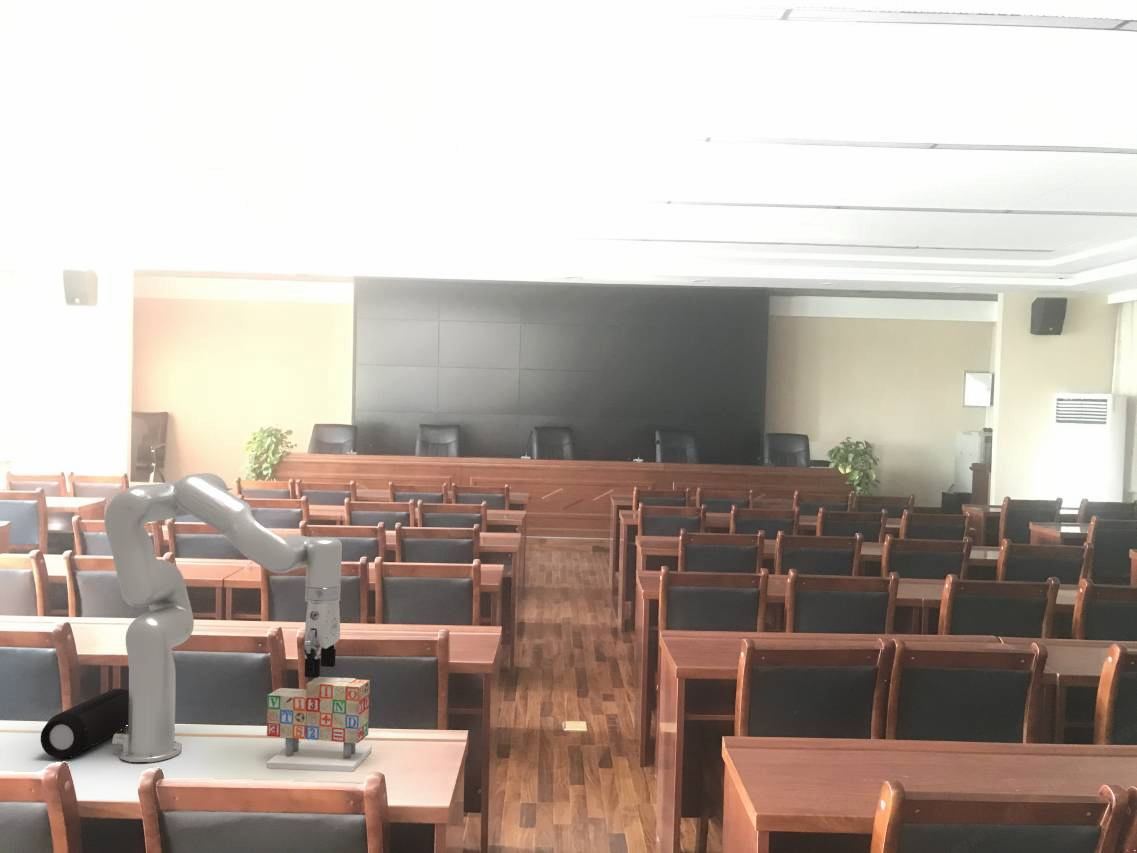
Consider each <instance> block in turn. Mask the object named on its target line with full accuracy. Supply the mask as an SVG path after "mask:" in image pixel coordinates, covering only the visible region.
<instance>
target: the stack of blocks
mask: <svg viewBox="0 0 1137 853" xmlns="http://www.w3.org/2000/svg"><path fill="white" fill-rule="evenodd" d="M370 684H371V683H370V679H358V678H354V677H331V676H330V677H329V676H328V677H327V676H319V677H318V678H313V679H312V680H311V681H309V682H307V683H306V689H302V688H289V687H288V688H287V687H286V688H285V687H279V688H277V689H275V690H273V691H272V692H271V693H269V694H267V696H266V699H267V700H266V703H267V704H266V706H267V707H266V709H267V712H266V719H267V720H266V722H267V724H266V736H267V737H270V738H271V737H274V738H284V739H286V738H296V739H299V740H312V741H326V742H335V743H336V742H337V743H344V742H347V743H356V744H359V743H360V742H362V740H364V739H365V738H366V737H368V736H369V721H370V720H369V717H370V716H369V715H370V696H371V695H370Z"/></svg>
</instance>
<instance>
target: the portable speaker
mask: <svg viewBox="0 0 1137 853" xmlns="http://www.w3.org/2000/svg"><path fill="white" fill-rule="evenodd" d="M128 714H129V689H125V688H112V689H110V690H108V691H105V692H103V693H102V694H99V695H97V696H95V697H92V698H90V699H88V700H86V701H83V702H81V703H79V704H77V705H75V706H73V707H71V708H68V709H66V710H64V711H62V712H59V713H57V714H56V715H54V716H52V717H51V718H50V719H49V720H48V721H47V722H46V724H45V725H44V726H43V728H42V731H41V733H40V744H41V747H42V749H43V751H44V752H45V753H46V754H47V755H48V756H50V757H52V758H57V759H59V758H60V759H67V758H66V757H70V756H73V757H75V756H76V755H79V754H80V753H82V751H83V752H84V751H86V750H88V749H90V748H91V747H93V746H95V745H97V744H98V742H99V743H100V741H101V742H102V741H104V740H105V738H106V739H108V738H110V737H112V736H114V735H113V734H115V733H116V732H117V733H119V732H121V731H122V730H121V729H123V730H125V729H126V728H125V727H127V728H128V726H126V725H128ZM124 728H125V729H124ZM120 730H121V731H120ZM118 731H119V732H118ZM111 735H112V736H111ZM109 736H110V737H109ZM107 737H108V738H107ZM96 743H97V744H96ZM94 744H95V745H94ZM89 747H90V748H89Z"/></svg>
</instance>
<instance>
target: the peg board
mask: <svg viewBox="0 0 1137 853" xmlns="http://www.w3.org/2000/svg"><path fill="white" fill-rule="evenodd" d="M299 741H300V739H296V738H285V747H284V748H282V749H281V750H280V751H279V752H278V753H277V754H275V755H274V756H273V757H271V758H270V759H269V760H268V761H267V762H266V769H277V770H282V769H283V770H303V771H306V770H307V771H324V772H325V771H330V772H348V773H349V772H350V773H351V772H355V770H356V769H358V767H359V766H360V765H361V764H362V763H363V762H364V761H365V759H367V757H368V756H369V755H370V754H371V753H370V751H371V750H372V745H356V744H357V743H347V742H343V744H327V743H326V744H325V743H324V744H323V743H319V744H318V743H300V742H299ZM369 753H370V754H369ZM368 754H369V755H368ZM367 755H368V756H367ZM366 756H367V757H366Z"/></svg>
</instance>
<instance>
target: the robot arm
mask: <svg viewBox="0 0 1137 853" xmlns="http://www.w3.org/2000/svg"><path fill="white" fill-rule="evenodd" d="M251 507H252V506H251V505H250V504H249V503H248V502H247V501H245V500H243V499H241V498H240V497H238V496H236V495H234V493H231V492H230V491H229V490H228V485H227V483H226V482H225V481H224V479H223V478H222V477H220V476H219V475H216V474H214V473H209V472H206V473H204V472H203V473H191V474H188V475H185V476H183V477H181V478H180V479H179V480H175V481H170V482H169V481H168V482H163V483H155V484H140V485H139V484H138V485H134V486H131V487H127V488H125V489H123V490H122V491H120V492H119V493H117V494H116V495H114V497H113V498H112V499H111V500H110V502H109V504H108V506H106V510H105V514H104V521H103V522H104V528H105V534H106V536H107V540H108V543H109V547H110V549H111V553H112V557H113V564H114V568H115V571H116V577H117V581H118V584H119V588H120V593H121V596H122V598H123V600H124V601H125V603H126V604H127V605H129V606H130V607H132V608H145V607H148V608H149V611H148V612H145V613H143V614H140V616H137V617H136V618H135V619H134V620H133V621H132V622H131V623H130V624H129V626H128V628H127V630H126V634H125V647H126V654H127V660H128V690H129V714H128V727H127V728H128V729H127V733H125V734H124V733H120V732H117V733H116V734H114V735H112V736H113V737H112V741H111V744H112V745H113V746H122V749H121V750H120V752H119V758H120V757H121V759H120V760H122V759H123V760H126V761H130V762H129V763H131V762H148V763H153V762H154V763H155V762H161V761H165V760H169V759H171V758H174V757H176V756H177V755H180V754H181V752H182V750H183V748H182V746H183V745H182V743H180V742H179V741H175V736H176V735H175V731H176V728H175V727H176V724H175V723H176V688H177V686H176V684H177V682H176V677H177V676H176V675H177V673H176V664H175V659H174V656H173V651H172V649H173V648H175V647H178V646H181V645H182V644H183V643H185V642H186V641H187V640H189V638H190V637H191V636H192V633H193V631H194V625H195V623H194V622H195V621H194V615H193V610H192V606H191V602H190V598H189V593H188V589H187V585H186V582H185V578H184V576H183V573H182V572H181V570H180V569H179V568H178V567H177V565H175V564H174V563H173V562H171V561H168V560H166V559H165V560H162V559H161V560H160V559H159V560H158V559H157V555H156V552H155V547H154V543H153V540H152V538H151V536H150V534H149V533H148V531H147V530H146V528H145V526H146V524H147V523H152V522H153V523H154V522H159V521H166V520H171V519H175V518H179V517H186V516H189V515H190V516H193V517H194V518H196V519H197V520H200V521H201V522H203V523H204V524H206V525H208V526H209V527H210V528H212V529H214V530H216V531H217V532H219V533H220V534H221V535H223V536H225V538H227V540H228V541H229V542H230V544H231V545H232V546H233V547H234V548H235V549H236V550H237V551H238V552H239V553H240V554H242V555H243V556H244V557H245V558H247V559H249V560H250V561H252V562H253V563H255V564H256V565H259V566H260V567H262V568H264V569H266V570H267V571H269V572H271V573H276V574H285V573H288V572H291V571H293V570H299V569H302V568H306V569H305V593H304V594H305V595H304V596H305V597H304V601H305V602H306V603H307V607H306V613H305V614H306V615H305V629H304V643H303V644H304V677H305V678H313V679H315V678H318V677H321V667H324V668H325V667H329V668H334V667H335V666H336V655H337V654H336V652H337V643H338V641H339V640H340V639H341V613H340V611H341V610H340V601H341V587H342V586H341V585H342V584H341V583H342V582H341V581H342V580H341V579H342V561H343V560H342V557H343V556H342V554H343V553H342V552H343V544H342V541H341V540H340V539H338V538H335V537H325V536H324V537H323V536H322V537H312V536H305V535H300V534H291V535H287V536H283V537H281V536H279V535H277V534H275V533H273V532H272V531H270V530H269V529H267V528H265V527H264V526H263V525H261V524H260V523H259V522H258V521H257V520H256V519H255V518H254V516H253V514H252V512H253V511H252V508H251ZM123 760H122V761H123ZM126 761H125V762H126Z"/></svg>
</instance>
